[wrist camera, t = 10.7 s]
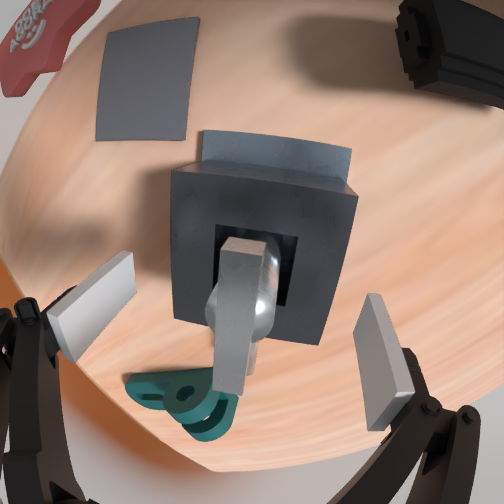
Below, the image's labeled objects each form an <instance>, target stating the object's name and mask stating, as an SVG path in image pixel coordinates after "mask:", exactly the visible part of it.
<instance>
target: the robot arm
mask: <svg viewBox="0 0 504 504" xmlns="http://www.w3.org/2000/svg"><path fill="white" fill-rule="evenodd" d="M136 293H137V290H136V281H135V272H134V262H133V252H128V251H123V250H122V251H120V252H119V253H118V254H116V255H115V256H114V257H113V258H111V259H110V260H109V261H107V262H106V263H105V264H104V265H102V266H101V267H100V268H98V269H97V270H96V271H95V272H93V273H92V274H91V275H90V276H88V277H87V278H86V279H85V280H84V281H82V282H81V283H80V284H79V285H78V286H77V285H76V286H73V287H71V288H69V289H67V290H66V291H65V292H64V293H63V294H62V295H60V296H59V297H58V298H57V300H54V301H53V302H52V303H51V304H50V305H49V306H47V307H46V308H45V309H44V310H43V311H42V312H41V313H40V310H39V307H38V304H37V301H36V300H35V299H34V298H32V297H26V298H23V299H21V300H19V301H18V302H17V303H16V304H15V305H14V310H15V312H16V315H17V318H15V317H13V315H12V313H11V310H9V309H8V308H1V309H0V478H1V471H2V463H3V471H4V479H5V486H6V492H7V498H8V503H9V504H99V503H97V502H95V501H93V500H91V499H89V500H88V501H86V499H85V497H84V494H83V492H82V490H81V488H80V486H79V485H78V483H77V481H76V479H75V477H74V473H73V469H72V465H71V461H70V456H69V451H68V446H67V440H66V435H65V428H64V422H63V414H62V405H61V396H60V383H59V365H58V364H59V363H58V361H59V360H58V355H57V352H58V351H59V350H61V352H62V354H63V356H64V358H66V359H67V360H69V361H71V362H74V363H76V362H77V360H78V359H79V358H80V357H81V356H82V354H83V353H84V352H85V351H86V350H87V348H88V347H89V346H90V345H91V344H92V343H93V341H94V340H95V339H96V338H97V337H98V336H99V334H100V333H101V332H102V331H103V330H104V329H105V327H106V326H107V325H108V324H109V323H110V322H111V321H112V320H113V318H114V317H115V316H116V315H117V314H118V313H119V312H120V311H121V309H122V308H123V307H124V306H125V305H126V304H127V303H128V302H129V301H130V300H131V298H132V297H133V296H134V295H135V294H136ZM353 336H354V341H355V347H356V352H357V358H358V364H359V370H360V376H361V383H362V390H363V397H364V405H365V413H366V421H367V430H368V431H384V430H385V429H386V428H387V427H388V425H389V424H390V426H391V432H390V433H389V434H388V435H387V436H386V437H385V439H384V440H383V441H382V442H381V445H380V446H379V447H378V449H377V450H376V451H375V452H374V454H373V455H372V456H371V457H370V458H369V460H368V461H367V462H366V463H365V464H364V466H363V467H362V468H361V469H360V470H359V471H358V472H357V473H356V474H355V475H354V477H353V478H352V479H351V480H350V481H349V482H348V483H347V484H346V485H345V486H344V487H343V488H342V490H340V491H339V492H338V493H337V494H336V495H335V496H334V497H333V498H332V499H331V500H330V501H329V502H328V503H327V504H388V503H389V502H390V501H391V500H392V498H393V497H394V496H395V494H396V493H397V492H398V490H399V489H400V487H401V486H402V485H403V483H404V482H405V480H406V478H407V477H408V476H409V474H410V472H411V471H412V469H413V468H414V466H415V465H416V463H417V461H418V460H419V458H420V456H421V454H422V453H423V455H422V459H421V462H420V465H419V468H418V472H417V474H416V477H415V480H414V483H413V486H412V489H411V491H410V494H409V497H408V499H407V501H406V504H469V500H470V496H471V491H472V486H473V481H474V476H475V470H476V464H477V457H478V449H479V438H480V425H481V419H480V415H479V413H478V411H477V410H476V409H475V408H474V407H472V406H470V405H464V406H462V407H461V408H460V409H459V410H458V411H457V412H455V411H450V410H446V409H443V408H442V405H441V403H440V402H439V401H438V400H437V399H436V398H434V397H432V396H430V395H429V392H428V389H427V386H426V383H425V380H424V377H423V374H422V373H421V369H420V366H419V363H418V360H417V358H416V356H415V354H414V353H413V352H412V351H411V350H410V348H401V346H400V343H399V341H398V338H397V335H396V332H395V330H394V327H393V324H392V322H391V319H390V317H389V314H388V311H387V309H386V306H385V304H384V301H383V299H382V297H381V295H380V294H373V293H367V296H366V299H365V302H364V305H363V308H362V310H361V313H360V316H359V318H358V321H357V324H356V326H355V329H354V331H353ZM3 346H4V348H5V350H6V351H5V353H4V354H3V352H2V348H3ZM8 425H9V439H10V451H9V452H6V453H4V448H5V441H6V435H7V430H8ZM0 504H3V502H2V500H1V499H0Z"/></svg>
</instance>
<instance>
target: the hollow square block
mask: <svg viewBox="0 0 504 504" xmlns="http://www.w3.org/2000/svg"><path fill="white" fill-rule="evenodd" d="M351 153H352V149H350V148H346V147H341V146H336V145H330V144H325V143H319V142H314V141H307V140H301V139H295V138H288V137H280V136H272V135H264V134H254V133H244V132H232V131H218V130H204V136H203V148H202V161H200V162H197V163H194V164H191V165H187V166H184V167H181V168H178V169H175V170H172V171H171V205H170V240H171V276H172V297H173V313H174V318H175V319H179V320H183V321H187V322H191V323H196V324H200V325H205V326H209V325H208V323H207V321H206V317H205V306H206V303H207V301H208V299H209V297H210V295H211V293H212V291H213V290H214V288H215V286H216V284H217V282H218V275H219V261H220V249H221V248H222V246H223V245H224V243H225V242H226V241H227V239H228V238H229V237H235V238H242V236H243V235H244V233H245V231H246V229H253V230H259V231H265V232H272V233H278V234H283V240H282V251H281V261H280V270H279V280H278V289H277V298H276V307H275V316H274V324H273V327H272V329H271V331H270V332H269V334H268V335H267V336H266V338H271V339H277V340H284V341H290V342H297V343H304V344H311V345H319V342H320V339H321V336H322V333H323V330H324V327H325V324H326V321H327V317H328V314H329V311H330V308H331V304H332V301H333V298H334V294H335V291H336V287H337V284H338V280H339V277H340V273H341V269H342V266H343V262H344V258H345V254H346V250H347V246H348V242H349V238H350V234H351V229H352V225H353V220H354V216H355V211H356V207H357V202H358V197H359V196H358V195H357V194H356V193H355V192H354V191H353V190H352V189H351V188H350V187H349V185H348V184H347V177H348V171H349V165H350V159H351ZM258 345H259V341H258V342H255V343H251V350H250V356H249V363H248V369H247V376H248V375H251V374H252V373H253V372H254V369H255V363H256V357H257V351H258Z"/></svg>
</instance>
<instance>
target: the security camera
mask: <svg viewBox="0 0 504 504" xmlns="http://www.w3.org/2000/svg"><path fill="white" fill-rule="evenodd" d="M399 11H400V14H399V15H398V16H397V18H396V19H397V23H398V28H397V29H396V30H395V32H396V36H397V41H398V46H399V52H400V58H402V60H403V66H404V73H408V74H409V80H410V81H414V89H419V90H425V91H431V92H437V93H442V94H447V95H452V96H456V97H461V98H465V99H469V100H473V101H477V102H480V103H484V104H487V105H491V106H494V107H497V108H500V109H503V110H504V19H502V18H500V17H498V16H496V15H494V14H492V13H489V12H487V11H485V10H483V9H481V8H478V7H476V6H474V5H471V4H469V3H466V2H464V1H461V0H404V1H403V2H402V3H401V4H400V6H399Z"/></svg>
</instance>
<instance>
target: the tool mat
mask: <svg viewBox="0 0 504 504" xmlns="http://www.w3.org/2000/svg"><path fill="white" fill-rule="evenodd" d="M199 22H200V18H199V17H190V18H181V19H174V20H167V21H160V22H155V23H149V24H144V25H139V26H135V27H130V28H126V29H122V30H118V31H114V32H111V33H108V35H107V40H106V45H105V51H104V56H103V63H102V70H101V77H100V85H99V95H98V106H97V121H96V141H105V140H186V127H187V115H188V105H189V95H190V86H191V77H192V69H193V61H194V54H195V47H196V41H197V34H198V28H199Z"/></svg>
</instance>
